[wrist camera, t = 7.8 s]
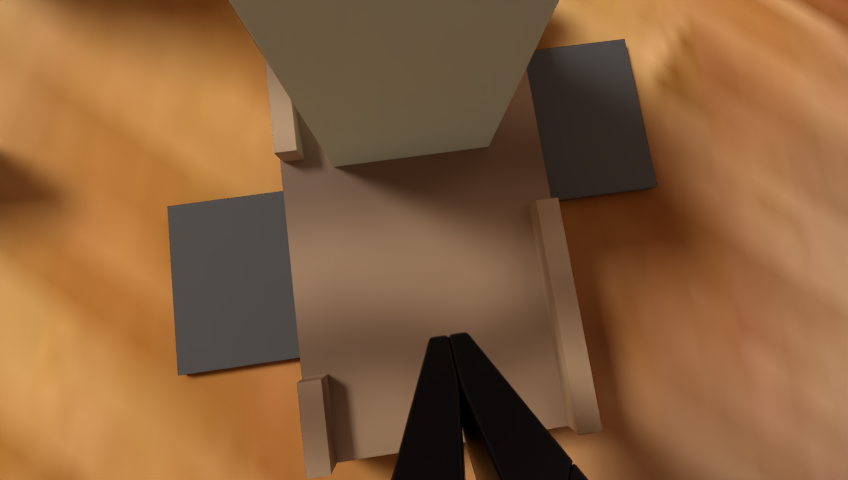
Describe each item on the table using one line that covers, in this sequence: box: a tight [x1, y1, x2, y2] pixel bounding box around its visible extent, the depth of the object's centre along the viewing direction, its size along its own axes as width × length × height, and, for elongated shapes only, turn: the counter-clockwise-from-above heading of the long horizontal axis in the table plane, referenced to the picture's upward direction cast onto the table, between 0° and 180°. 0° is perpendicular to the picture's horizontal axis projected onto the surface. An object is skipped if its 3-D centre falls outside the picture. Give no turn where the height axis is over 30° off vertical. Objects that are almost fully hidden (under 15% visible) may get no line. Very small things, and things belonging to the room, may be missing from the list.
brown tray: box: [265, 59, 602, 479], centre depth 16 cm, size 19×10×4 cm, turn 8°
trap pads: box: [167, 39, 657, 375], centre depth 18 cm, size 12×21×1 cm, turn 98°
